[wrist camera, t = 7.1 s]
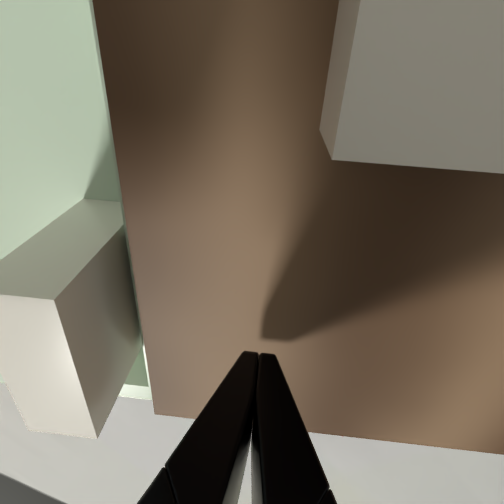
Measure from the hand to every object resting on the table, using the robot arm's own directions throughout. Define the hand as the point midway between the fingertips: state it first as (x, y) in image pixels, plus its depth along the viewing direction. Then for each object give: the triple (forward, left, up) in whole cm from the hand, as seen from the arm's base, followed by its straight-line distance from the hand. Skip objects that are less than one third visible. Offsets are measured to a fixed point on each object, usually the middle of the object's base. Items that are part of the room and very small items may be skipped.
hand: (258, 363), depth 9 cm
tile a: (+4, 0, -2) cm, 5 cm away
